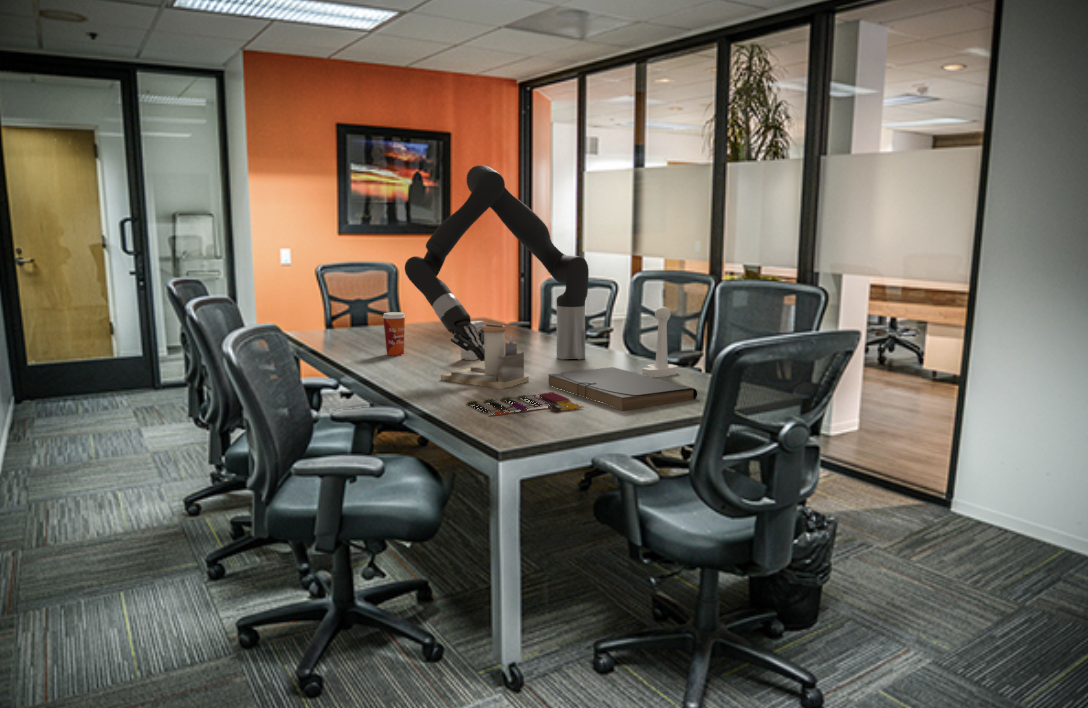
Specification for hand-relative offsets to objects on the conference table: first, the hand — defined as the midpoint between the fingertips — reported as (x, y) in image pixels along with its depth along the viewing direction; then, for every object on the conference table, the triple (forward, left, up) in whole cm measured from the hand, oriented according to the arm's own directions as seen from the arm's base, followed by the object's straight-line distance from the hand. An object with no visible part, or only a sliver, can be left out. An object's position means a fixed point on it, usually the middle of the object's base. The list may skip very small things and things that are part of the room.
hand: (484, 359), depth 213 cm
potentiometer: (-8, +5, +2) cm, 9 cm away
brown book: (-36, +14, -7) cm, 40 cm away
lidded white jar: (-3, +2, -5) cm, 6 cm away
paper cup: (+34, -43, -6) cm, 56 cm away
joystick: (-50, -10, -6) cm, 51 cm away
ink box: (+7, -36, -6) cm, 38 cm away
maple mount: (0, 0, -6) cm, 6 cm away
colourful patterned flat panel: (-13, +30, -7) cm, 33 cm away
